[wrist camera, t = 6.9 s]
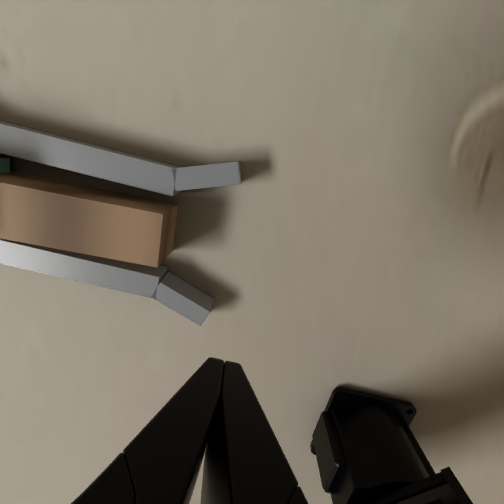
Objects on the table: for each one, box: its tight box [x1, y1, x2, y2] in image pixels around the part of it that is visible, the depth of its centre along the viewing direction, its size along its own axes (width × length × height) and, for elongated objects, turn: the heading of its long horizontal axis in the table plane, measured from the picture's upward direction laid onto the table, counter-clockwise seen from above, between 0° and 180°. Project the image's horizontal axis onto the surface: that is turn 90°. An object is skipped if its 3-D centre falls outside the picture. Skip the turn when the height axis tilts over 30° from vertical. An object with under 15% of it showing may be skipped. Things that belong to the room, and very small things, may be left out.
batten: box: [0, 172, 179, 268], centre depth 17 cm, size 10×3×4 cm, turn 79°
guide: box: [0, 120, 242, 326], centre depth 17 cm, size 20×10×4 cm, turn 76°
